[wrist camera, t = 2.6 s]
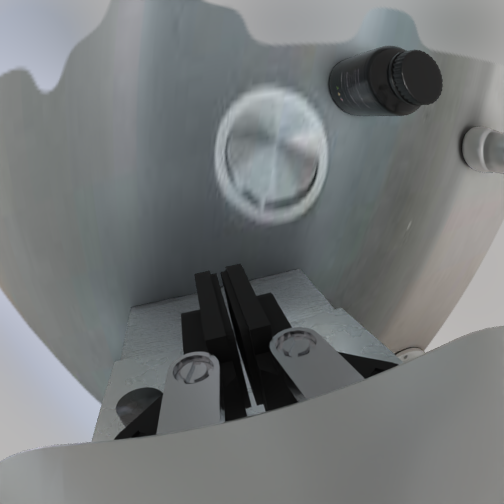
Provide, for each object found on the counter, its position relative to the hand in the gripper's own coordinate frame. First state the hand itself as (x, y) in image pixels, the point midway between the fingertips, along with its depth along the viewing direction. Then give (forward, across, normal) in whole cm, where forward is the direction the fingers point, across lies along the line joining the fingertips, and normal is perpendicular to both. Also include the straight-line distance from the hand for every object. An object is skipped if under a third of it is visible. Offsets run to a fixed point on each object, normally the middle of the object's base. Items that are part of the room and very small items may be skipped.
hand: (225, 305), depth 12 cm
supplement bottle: (+22, -19, -9) cm, 31 cm away
